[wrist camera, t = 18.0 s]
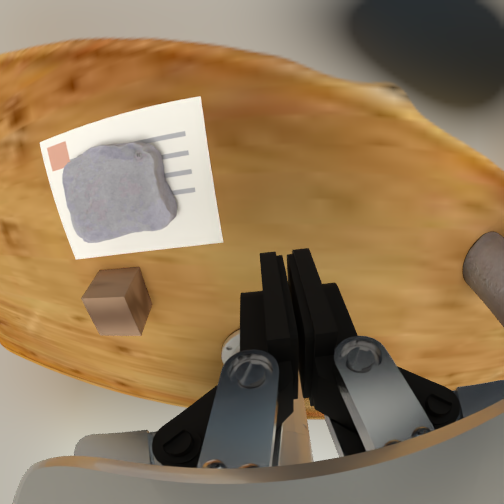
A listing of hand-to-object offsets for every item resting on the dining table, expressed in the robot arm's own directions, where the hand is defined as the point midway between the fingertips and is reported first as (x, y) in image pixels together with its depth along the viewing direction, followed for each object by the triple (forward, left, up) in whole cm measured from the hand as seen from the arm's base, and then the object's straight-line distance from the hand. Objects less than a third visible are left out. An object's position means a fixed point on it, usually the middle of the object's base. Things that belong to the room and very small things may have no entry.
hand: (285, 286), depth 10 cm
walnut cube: (-14, +19, -21) cm, 32 cm away
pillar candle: (-16, -34, -21) cm, 43 cm away
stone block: (0, +15, -21) cm, 26 cm away
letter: (-1, +15, -21) cm, 26 cm away
